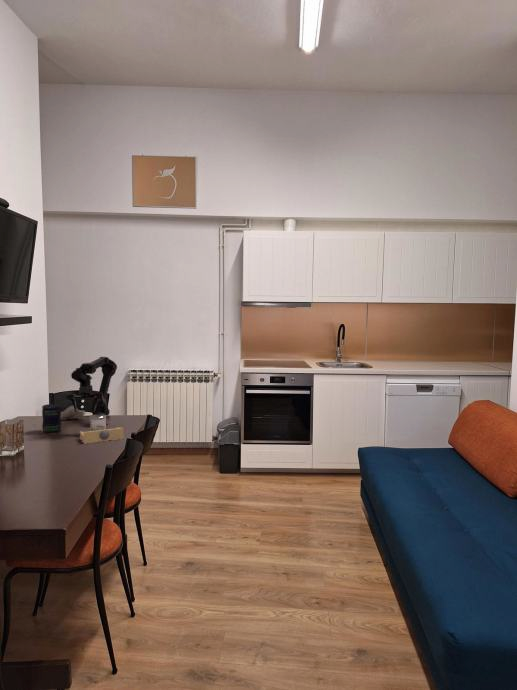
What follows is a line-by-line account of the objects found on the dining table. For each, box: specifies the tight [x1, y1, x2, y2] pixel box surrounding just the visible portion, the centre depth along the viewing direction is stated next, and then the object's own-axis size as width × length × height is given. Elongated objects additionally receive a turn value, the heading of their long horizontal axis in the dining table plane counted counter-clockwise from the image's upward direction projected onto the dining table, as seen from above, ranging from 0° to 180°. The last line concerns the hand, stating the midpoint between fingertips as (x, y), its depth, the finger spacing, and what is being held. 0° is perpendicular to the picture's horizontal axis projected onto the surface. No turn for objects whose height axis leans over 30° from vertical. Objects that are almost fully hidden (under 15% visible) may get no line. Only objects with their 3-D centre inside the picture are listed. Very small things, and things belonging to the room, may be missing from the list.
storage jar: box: [41, 403, 62, 435], centre depth 272 cm, size 10×10×15 cm
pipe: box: [61, 405, 86, 422], centre depth 303 cm, size 16×9×15 cm
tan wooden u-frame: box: [79, 427, 125, 445], centre depth 260 cm, size 11×20×6 cm, turn 121°
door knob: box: [87, 414, 107, 432], centre depth 267 cm, size 14×14×11 cm
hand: (84, 412), depth 264 cm, fingers open, 9 cm apart
